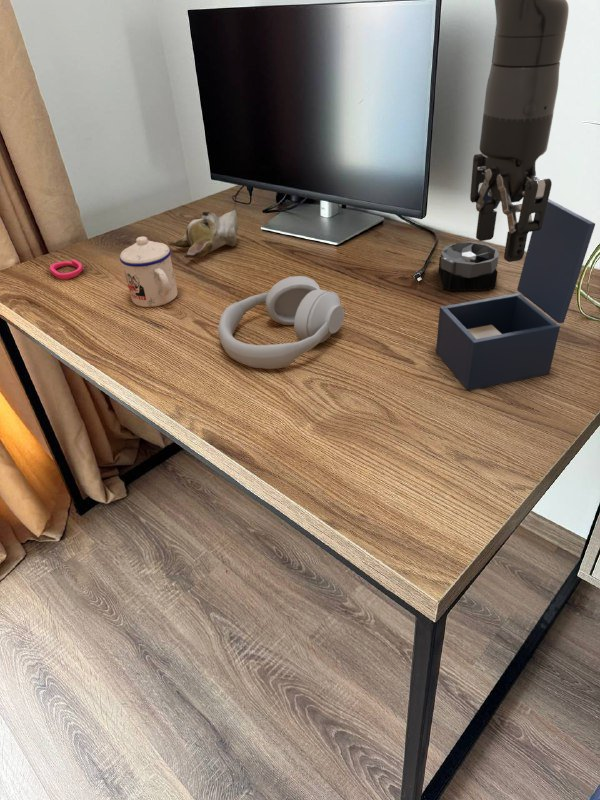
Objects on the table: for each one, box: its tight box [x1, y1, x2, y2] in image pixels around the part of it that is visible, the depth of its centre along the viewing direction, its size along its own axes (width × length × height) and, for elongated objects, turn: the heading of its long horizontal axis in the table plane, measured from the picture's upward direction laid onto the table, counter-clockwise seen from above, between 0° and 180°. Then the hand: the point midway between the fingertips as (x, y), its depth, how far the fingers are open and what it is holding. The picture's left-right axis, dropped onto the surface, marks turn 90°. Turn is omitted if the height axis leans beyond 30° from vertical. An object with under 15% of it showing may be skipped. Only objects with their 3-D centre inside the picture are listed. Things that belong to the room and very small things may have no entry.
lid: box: [516, 198, 596, 324], centre depth 79 cm, size 14×11×1 cm
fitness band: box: [49, 258, 85, 281], centre depth 123 cm, size 8×6×2 cm
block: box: [467, 325, 501, 339], centre depth 84 cm, size 4×4×4 cm
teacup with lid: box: [119, 236, 178, 308], centre depth 107 cm, size 12×9×12 cm
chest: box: [435, 292, 561, 391], centre depth 84 cm, size 13×11×8 cm
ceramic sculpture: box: [167, 209, 239, 259], centre depth 125 cm, size 11×9×15 cm
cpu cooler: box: [438, 241, 499, 292], centre depth 107 cm, size 10×6×10 cm
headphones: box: [217, 275, 345, 370], centre depth 94 cm, size 18×8×20 cm
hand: (498, 248), depth 76 cm, fingers open, 6 cm apart
